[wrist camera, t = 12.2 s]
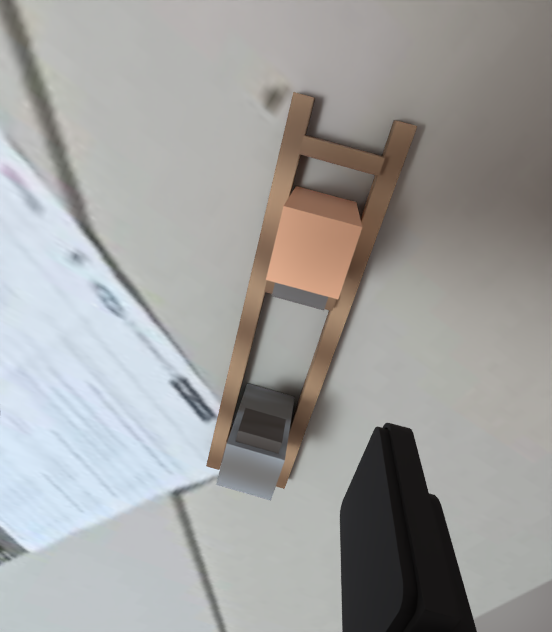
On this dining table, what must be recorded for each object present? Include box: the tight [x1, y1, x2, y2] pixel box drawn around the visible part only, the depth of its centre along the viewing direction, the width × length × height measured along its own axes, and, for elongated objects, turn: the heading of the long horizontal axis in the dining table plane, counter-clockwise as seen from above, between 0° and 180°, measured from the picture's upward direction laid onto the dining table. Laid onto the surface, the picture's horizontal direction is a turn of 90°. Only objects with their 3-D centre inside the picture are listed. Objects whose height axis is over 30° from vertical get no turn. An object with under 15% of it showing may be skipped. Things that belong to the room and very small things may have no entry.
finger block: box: [266, 186, 362, 310], centre depth 24 cm, size 5×4×7 cm
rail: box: [206, 92, 417, 500], centre depth 28 cm, size 30×7×7 cm, turn 166°
